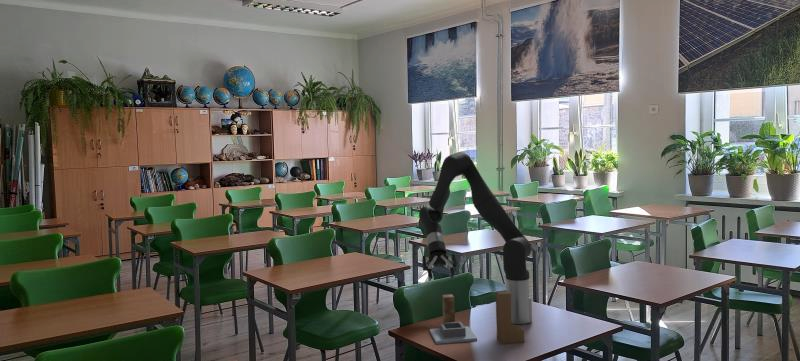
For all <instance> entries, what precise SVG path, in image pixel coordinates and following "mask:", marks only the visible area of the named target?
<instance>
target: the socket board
mask: <svg viewBox="0 0 800 361" xmlns="http://www.w3.org/2000/svg"><path fill="white" fill-rule="evenodd" d="M429 333H430V335H431V336H432V339H433V341H434V343H435V344H436V345H441V344H451V343H453V344H454V343H466V342H467V343H469V342H477V341H478V337H477V336H476V335H475V333H474V332H473V331H472V330H471V328H470V326H468V325H467V326H465V325H464V324H463V323H462V321H455V322H448V323H443V322H440V323H439V328H430V329H429Z"/></svg>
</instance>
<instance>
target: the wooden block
mask: <svg viewBox="0 0 800 361" xmlns="http://www.w3.org/2000/svg"><path fill="white" fill-rule="evenodd" d="M495 319H496V320H495V322H496V323H495V324H496V340H497V341H498V343H499V344H500V345H504V344H516V343H517V344H518V343H519V344H520V343H525V330H524V328H522V327H521V325H520V326H519V325H514V324H513V323H512V316H511V294H510V293H509V292H508V291H506V290H499V291H497V290H496V291H495Z"/></svg>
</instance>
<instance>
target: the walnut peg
mask: <svg viewBox="0 0 800 361" xmlns="http://www.w3.org/2000/svg"><path fill="white" fill-rule="evenodd" d="M441 296H442V297H441V298H442V323H448V322H456V313H455V310H456V309H455V308H456V307H455V303H456V302H455V296H454V295H453V293H452V294H451V293H450V294H442V295H441Z"/></svg>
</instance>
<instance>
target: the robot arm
mask: <svg viewBox="0 0 800 361" xmlns="http://www.w3.org/2000/svg"><path fill="white" fill-rule="evenodd" d="M461 175H462V176H464V178H465V179H466V181H467V183H468V185H469V187H470V191H471V193H470V194H471V200H472V204H473V207H474V208H475V210H476V211H477V213H478V214H479V215H480V217H481V218H482V219H483V220H484V221H485V222H486V223H487V224H488V225H489V226H491V227H492V228H493V229H495V230H496V231H497V232H498V233H499V235H500V236H501V238H502V239H503V240H504V242H505V243H504V245H503V249H502V262H503V263H502V266H503V272H504V274H505V291H508V292H509V293H510V294H511V316H512V324H513V325H526V324H529V323H533V306H532V305H533V304H532V302H533V300H532V297H531V295H530V294H531V291H530V289H531V288H530V272H529V270H528V269H527V260H526V259H527V258H528V257H529V256H530V255H531V253H532V246H531V242H530V241H529V240H528V238H527V237H526V236H525V235H524V234H523V233H522V232H521V231H520V229H519V228H518V227H517V225H515V223H514V222H513V220H512V219H511V218H510V215H509V214H508V213H507V212H506V210H505V209H504V207H503V206H502V204H501V202H500V201H499V200H498V199H497V198H498V197H496V195H495V194H494V193H493V191H492V190H491V189H490V187H489V186H488V185H487V183H486V181H485V180H484V179H483V176H482V175H481V174H480V172H479V170H478V168H477V166H476V165H475V162H474V160H473V159H472V158H471V156H470V155H469V154H468V153H466V152H465V151H458V152H455V153H453V154H450V155H447V156H446V157H445V158H444V160H443V162H442V165H441V169H440V172H439V175H438V180H437V184H436V186H435V188H434V190H433V192H432V195H431V196H430V199H429V202H428V205H429V206H422V207H421V208H420V210H419V212H418V217H419V220H420V223H421V224H422V227H423V228H424V230H425V236H426V246H427V253H428V256H425V255H422V258H421V263H422V271H424V272H427V275H428V278H429V279H430V280H433V277H434V276H433V272H432V269H433V268H434V267H436V268H437V267H443V266H444V267H445V268H446V269H448V270H449V275H450V276H449V277H450V278H451V279H453V278H454V276H455V271H454V270H457V268H458V263H457V259H456V255H455V254H454V253H452V254H451V255H448V254H447V248H446V243H445V238H444V234H443V230H442V225H441V224H440V223H441V222H442V221H443V217H444V209H445V206H446V204H447V202H448V200H449V197H450V194H451V188H450V187H451V184H452V182H453V181H454V180H455V179H456V177H459V176H461ZM428 261H429V262H430V263H429V265H428V266H427V262H428ZM450 261H451V262H450Z"/></svg>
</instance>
